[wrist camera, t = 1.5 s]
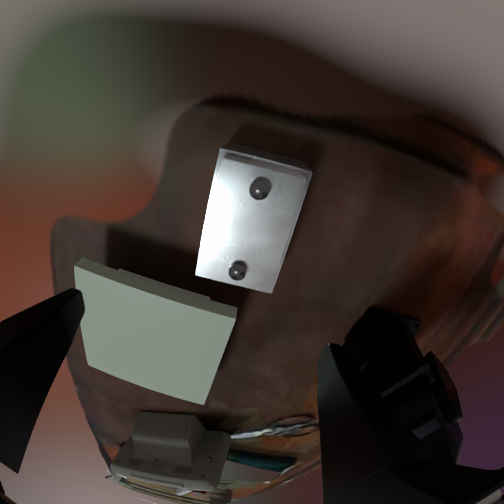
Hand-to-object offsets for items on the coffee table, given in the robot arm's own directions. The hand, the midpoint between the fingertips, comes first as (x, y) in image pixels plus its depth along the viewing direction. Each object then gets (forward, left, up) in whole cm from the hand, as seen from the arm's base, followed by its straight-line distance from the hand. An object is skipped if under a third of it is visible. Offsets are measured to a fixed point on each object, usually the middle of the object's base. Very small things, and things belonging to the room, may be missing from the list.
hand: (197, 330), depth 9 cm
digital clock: (0, +33, -11) cm, 35 cm away
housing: (-1, -1, -11) cm, 11 cm away
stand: (+4, +11, -11) cm, 16 cm away
